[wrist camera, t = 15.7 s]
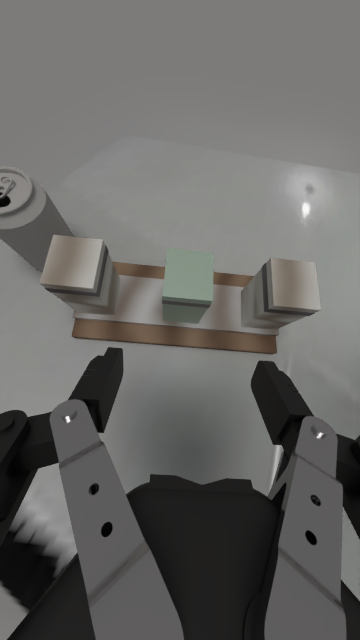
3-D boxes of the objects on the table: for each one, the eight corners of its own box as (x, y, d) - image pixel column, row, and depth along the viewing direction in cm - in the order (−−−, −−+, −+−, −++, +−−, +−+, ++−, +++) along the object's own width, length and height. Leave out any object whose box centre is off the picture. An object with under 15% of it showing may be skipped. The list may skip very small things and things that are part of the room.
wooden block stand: (268, 281, 34) (315, 238, 23) (272, 353, 31) (329, 341, 20) (91, 263, 32) (55, 208, 22) (75, 337, 29) (24, 315, 18)
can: (22, 264, 31) (-61, 199, 20) (49, 228, 33) (-12, 149, 22) (65, 283, 31) (8, 227, 20) (90, 245, 33) (51, 174, 22)
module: (200, 288, 30) (214, 252, 22) (198, 324, 29) (213, 301, 20) (166, 284, 30) (167, 247, 21) (162, 320, 29) (161, 296, 20)
